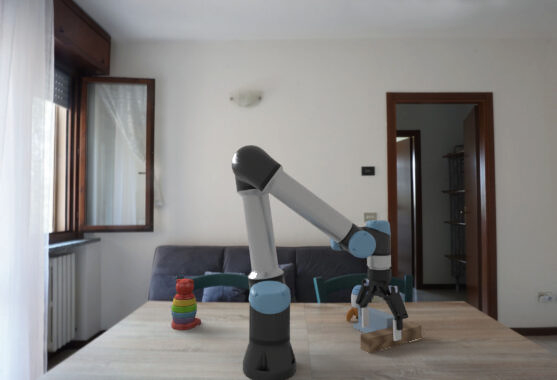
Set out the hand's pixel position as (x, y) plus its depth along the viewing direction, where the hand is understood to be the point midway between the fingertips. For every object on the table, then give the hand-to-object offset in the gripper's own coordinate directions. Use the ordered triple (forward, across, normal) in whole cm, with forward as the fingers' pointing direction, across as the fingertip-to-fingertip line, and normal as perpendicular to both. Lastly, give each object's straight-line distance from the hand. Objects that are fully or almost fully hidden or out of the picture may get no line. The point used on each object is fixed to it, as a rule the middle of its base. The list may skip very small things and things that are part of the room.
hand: (380, 333), depth 117 cm
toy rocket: (+5, +23, -12) cm, 27 cm away
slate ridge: (+5, +11, -10) cm, 15 cm away
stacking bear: (+4, +52, +49) cm, 72 cm away
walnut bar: (+5, 0, -6) cm, 8 cm away
